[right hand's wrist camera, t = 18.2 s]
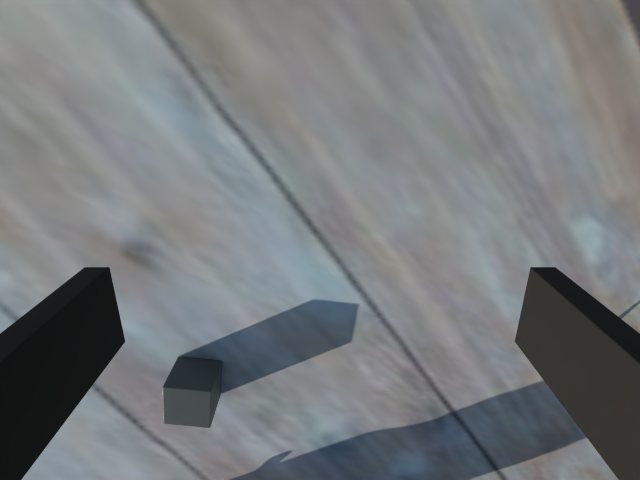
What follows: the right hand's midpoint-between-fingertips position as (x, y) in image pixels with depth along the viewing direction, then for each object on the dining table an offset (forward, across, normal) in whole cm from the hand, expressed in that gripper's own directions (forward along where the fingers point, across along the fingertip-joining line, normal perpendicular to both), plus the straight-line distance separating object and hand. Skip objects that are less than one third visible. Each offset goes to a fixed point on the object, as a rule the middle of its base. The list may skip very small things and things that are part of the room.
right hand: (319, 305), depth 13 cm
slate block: (+27, -14, -25) cm, 39 cm away
